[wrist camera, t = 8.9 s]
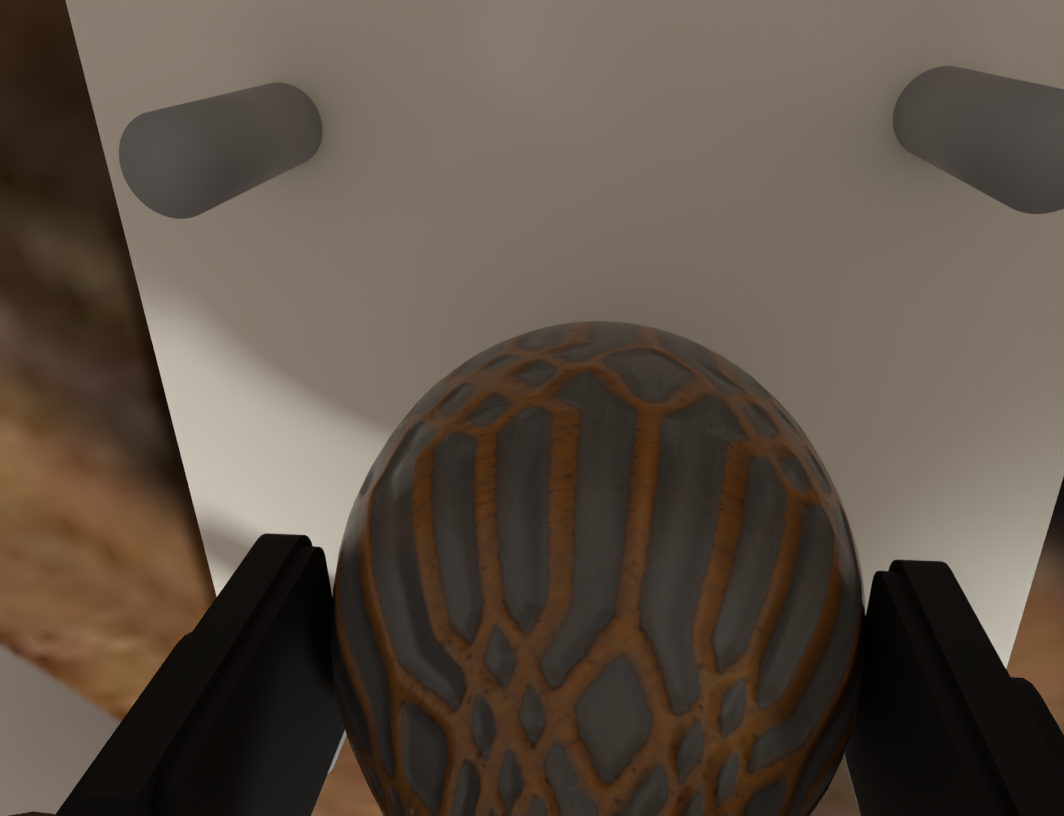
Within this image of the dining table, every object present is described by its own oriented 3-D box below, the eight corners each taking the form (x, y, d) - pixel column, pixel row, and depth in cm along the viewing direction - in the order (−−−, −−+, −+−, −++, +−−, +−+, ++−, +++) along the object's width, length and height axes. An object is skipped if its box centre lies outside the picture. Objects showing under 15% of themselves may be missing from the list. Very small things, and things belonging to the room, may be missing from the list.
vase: (840, 566, 15) (1059, 1176, 7) (493, 636, 17) (369, 1192, 9) (751, 207, 12) (948, 565, 5) (349, 335, 14) (-5, 755, 6)
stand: (1187, -144, 13) (1539, -235, 8) (956, 712, 21) (1056, 934, 16) (94, -89, 15) (-177, -134, 10) (269, 671, 23) (168, 858, 18)
